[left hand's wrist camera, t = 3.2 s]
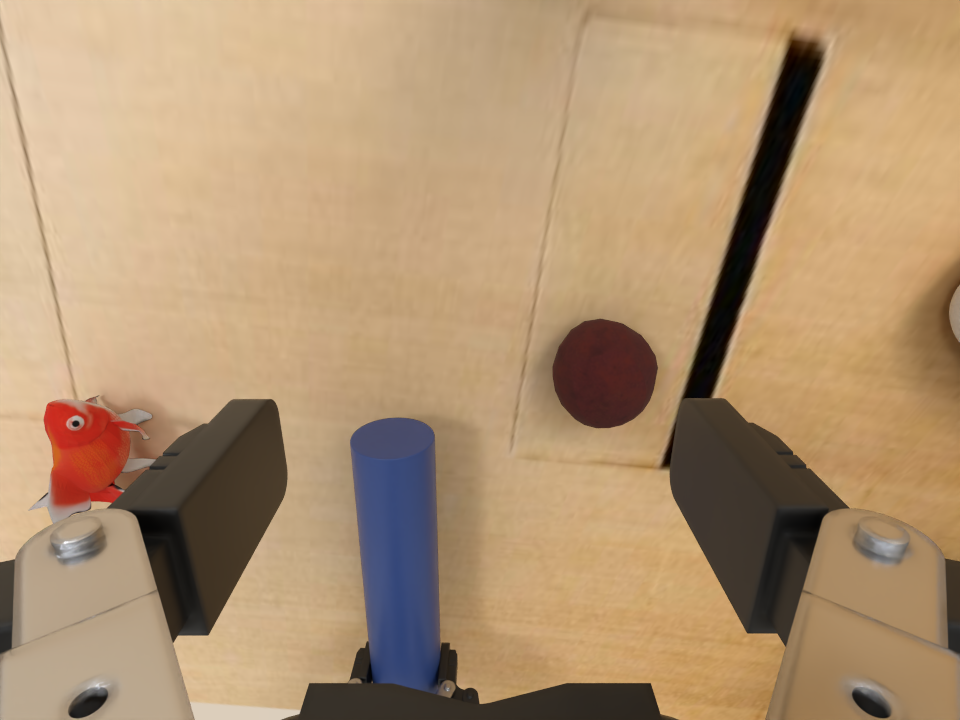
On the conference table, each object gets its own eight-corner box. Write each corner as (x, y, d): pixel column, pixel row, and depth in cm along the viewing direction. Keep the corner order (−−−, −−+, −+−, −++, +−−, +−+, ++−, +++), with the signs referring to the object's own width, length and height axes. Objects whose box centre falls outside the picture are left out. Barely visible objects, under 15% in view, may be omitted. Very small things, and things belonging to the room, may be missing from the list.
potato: (565, 412, 44) (579, 459, 38) (532, 327, 42) (542, 362, 35) (654, 381, 43) (684, 424, 37) (626, 292, 41) (654, 321, 34)
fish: (200, 402, 39) (75, 519, 32) (241, 508, 50) (154, 610, 44) (84, 345, 41) (-57, 444, 34) (148, 459, 52) (52, 549, 46)
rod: (360, 416, 41) (340, 458, 35) (438, 417, 41) (430, 460, 35) (380, 665, 50) (368, 727, 45) (444, 666, 50) (438, 729, 45)
